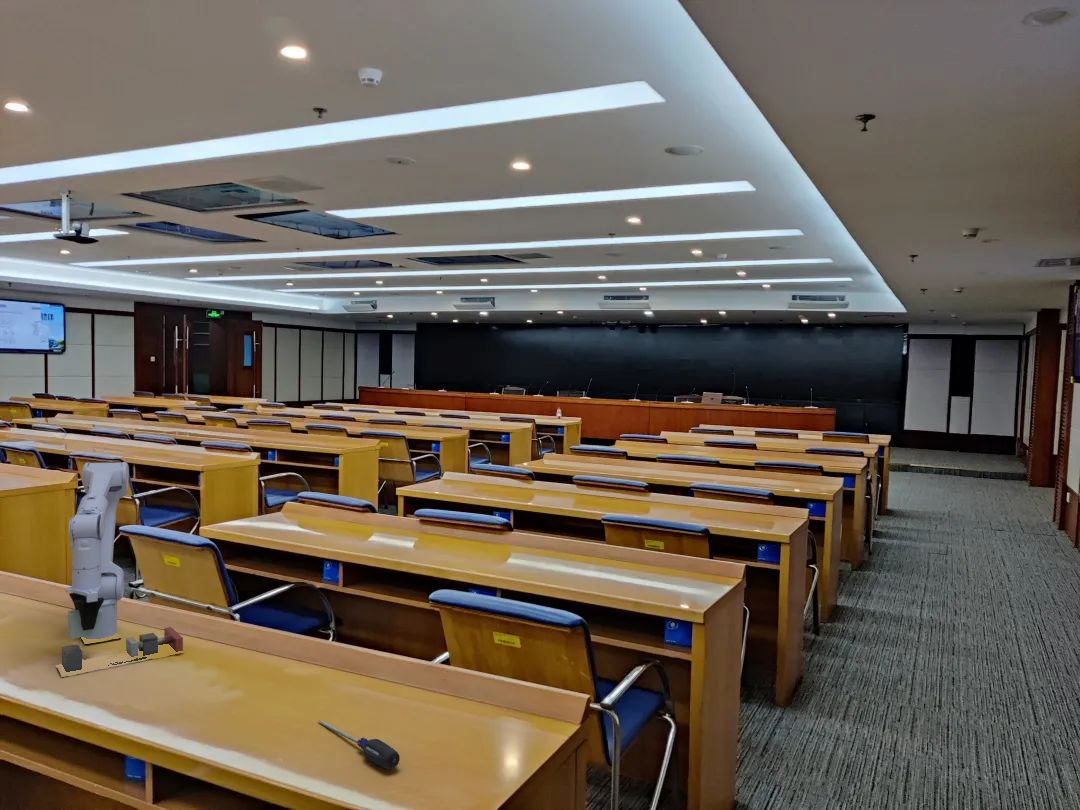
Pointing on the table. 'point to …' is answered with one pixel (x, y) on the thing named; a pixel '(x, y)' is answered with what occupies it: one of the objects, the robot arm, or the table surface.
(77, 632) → the block
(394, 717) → the table surface
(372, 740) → the screwdriver
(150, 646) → the frame
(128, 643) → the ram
